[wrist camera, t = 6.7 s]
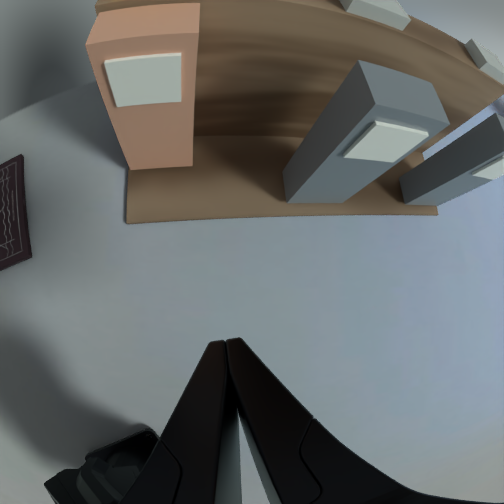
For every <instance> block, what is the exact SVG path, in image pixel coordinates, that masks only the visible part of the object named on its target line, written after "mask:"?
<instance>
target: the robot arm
mask: <svg viewBox="0 0 504 504" xmlns="http://www.w3.org/2000/svg"><path fill="white" fill-rule="evenodd" d="M237 409H238V410H237ZM238 413H239V417H240V421H241V424H242V427H243V430H244V433H245V436H246V439H247V442H248V445H249V448H250V451H251V454H252V456H253V459H254V462H255V465H256V468H257V470H258V473H259V476H260V479H261V481H262V484H263V487H264V489H265V492H266V495H267V497H268V500H269V502H270V504H504V503H488V502H476V501H466V500H458V499H451V498H444V497H438V496H433V495H428V494H423V493H420V492H417V491H414V490H412V489H409V488H407V487H405V486H403V485H402V484H400V483H398V482H397V481H395V480H393V479H392V478H390V477H389V476H387V475H386V474H384V473H383V472H381V471H380V470H378V469H377V468H375V467H374V466H372V465H371V464H369V463H368V462H366V461H365V460H364V459H362V458H361V457H359V456H358V455H357V454H355V453H354V452H353V451H351V450H350V449H349V448H347V447H346V446H345V445H344V444H342V443H341V442H340V441H339V440H338V439H336V438H335V437H334V436H333V435H332V434H331V433H330V432H329V431H328V430H327V429H326V428H325V427H324V426H323V425H322V424H321V423H320V422H319V421H318V420H317V419H315V418H314V419H313V415H312V414H311V413H310V412H309V411H308V410H307V409H306V408H305V407H304V406H303V405H302V404H301V403H300V402H299V401H298V400H297V399H296V398H295V397H294V396H293V395H292V393H291V392H290V391H289V390H288V389H287V388H286V387H285V386H284V385H283V384H282V383H281V382H280V381H279V379H278V378H277V377H276V376H275V375H274V374H273V373H272V372H271V371H270V370H269V369H268V367H267V366H266V365H265V364H264V363H263V362H262V361H261V360H260V359H259V357H258V356H257V355H256V354H255V353H254V352H253V351H252V349H251V348H250V347H249V346H248V345H247V344H246V343H245V341H244V340H243V339H242V338H240V337H238V338H232V339H227V340H226V343H225V341H224V340H218V341H211V342H210V343H209V344H208V346H207V348H206V349H205V351H204V353H203V355H202V357H201V359H200V361H199V363H198V365H197V367H196V369H195V371H194V373H193V375H192V377H191V378H190V380H189V382H188V384H187V386H186V388H185V390H184V392H183V394H182V396H181V398H180V400H179V402H178V404H177V405H176V407H175V409H174V411H173V413H172V415H171V417H170V419H169V421H168V423H167V425H166V427H165V429H164V430H163V432H162V434H161V436H160V438H159V436H158V435H157V434H156V432H155V431H154V430H152V429H145V430H143V431H140V432H138V433H136V434H134V435H131V436H129V437H127V438H124V439H122V440H120V441H117V442H115V443H113V444H110V445H108V446H105V447H103V448H100V449H98V450H95V451H93V452H90V453H88V454H87V455H86V457H85V460H86V462H85V464H84V465H83V466H81V467H80V468H79V469H65V470H63V471H61V472H59V473H57V474H56V475H55V476H54V477H52V478H51V479H49V480H48V481H46V482H45V483H44V486H45V488H46V489H47V491H48V493H49V494H50V496H51V498H52V499H53V501H54V502H55V504H242V493H241V470H240V444H239V419H238ZM146 434H151V435H152V438H149V437H147V436H146Z"/></svg>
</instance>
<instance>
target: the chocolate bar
mask: <svg viewBox="0 0 504 504" xmlns="http://www.w3.org/2000/svg"><path fill="white" fill-rule="evenodd" d="M29 258H32V252H31V245H30V238H29V231H28V222H27V213H26V201H25V186H24V156H23V155H22V154H20V155H18V156H16V157H14V158H12V159H10V160H9V161H7V162H5V163H3V164H1V165H0V271H1V270H4V269H6V268H8V267H11V266H13V265H15V264H18V263H20V262H22V261H25V260H27V259H29Z"/></svg>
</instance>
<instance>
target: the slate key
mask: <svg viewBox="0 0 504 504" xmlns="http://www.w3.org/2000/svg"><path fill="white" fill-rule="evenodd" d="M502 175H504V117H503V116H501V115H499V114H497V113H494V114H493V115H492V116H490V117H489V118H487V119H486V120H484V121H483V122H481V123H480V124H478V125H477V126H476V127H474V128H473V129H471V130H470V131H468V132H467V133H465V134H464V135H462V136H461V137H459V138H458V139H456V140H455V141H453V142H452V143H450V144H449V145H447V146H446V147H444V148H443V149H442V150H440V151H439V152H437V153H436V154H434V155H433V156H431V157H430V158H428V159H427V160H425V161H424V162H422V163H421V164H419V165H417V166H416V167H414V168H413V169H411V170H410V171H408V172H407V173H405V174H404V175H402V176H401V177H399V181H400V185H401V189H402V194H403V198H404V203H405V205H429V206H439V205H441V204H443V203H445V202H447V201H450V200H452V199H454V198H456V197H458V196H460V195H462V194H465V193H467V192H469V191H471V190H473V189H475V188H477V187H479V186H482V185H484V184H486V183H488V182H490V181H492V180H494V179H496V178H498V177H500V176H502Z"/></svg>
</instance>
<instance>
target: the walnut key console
mask: <svg viewBox="0 0 504 504" xmlns="http://www.w3.org/2000/svg"><path fill="white" fill-rule="evenodd" d="M174 3H200V18H199V39H198V51H197V65H196V81H195V101H194V126H193V166H185V167H167V168H152V169H139V170H130V168H129V170H128V188H127V224H139V223H153V222H169V221H186V220H205V219H226V218H250V217H279V216H321V215H438V211H437V206H429V205H405V203H404V198H403V194H402V189H401V185H400V181H399V177H401V176H402V175H404V174H405V173H407V172H408V171H410V170H411V169H413V168H414V167H416V166H417V165H419V164H421V163H422V162H424V157H423V154H422V153H423V152H424V151H425V150H427V149H428V148H430V147H431V146H432V145H434V144H435V143H437V142H438V141H439V140H441V139H442V138H444V137H445V136H447V135H448V134H449V133H451V132H452V131H454V130H455V129H456V128H458V127H459V126H461V125H462V124H463V123H465V122H466V121H468V120H469V119H470V118H472V117H473V116H474V115H476V114H477V113H479V112H480V111H481V110H483V109H484V108H486V107H487V106H488V105H490V104H491V103H492V102H494V101H495V100H497V99H498V98H499V97H501V96H502V95H503V94H504V67H503V65H502V64H501V62H500V61H499V59H498V57H497V56H496V55H494V54H493V53H492V52H490V51H489V50H488V49H486V48H485V47H483V46H482V45H480V44H479V43H478V42H476V41H475V40H473V39H471V40H470V41H469V42H468V43H466V44H463V43H461V42H459V41H458V40H457V39H455V38H453V37H451V36H449V35H447V34H446V33H444V32H442V31H440V30H438V29H436V28H434V27H433V26H431V25H428V24H427V23H424V22H423V21H420V20H418V19H416V18H414V17H412V16H410V15H407V14H406V12H405V11H404V10H403V8H402V7H401V5H400V4H399V3H398V2H397V0H98V1H97V3H96V5H95V9H96V13H97V16H98V14H99V13H100V12H105V11H111V10H117V9H123V8H130V7H138V6H148V5H159V4H174ZM358 60H361V61H365V62H369V63H372V64H376V65H380V66H383V67H386V68H390V69H393V70H396V71H399V72H402V73H405V74H408V75H411V76H414V77H417V78H420V79H422V80H425V81H428V82H430V83H432V85H433V87H434V89H435V91H436V93H437V95H438V97H439V99H440V102H441V104H442V106H443V108H444V111H445V113H446V115H447V118H448V120H449V123H450V125H448V126H447V127H446V128H444V129H443V130H442V131H440V132H439V133H438V134H436V135H435V136H434V137H432V138H431V139H430V140H428V141H427V142H425V143H424V144H423V145H421V146H420V147H419V148H417V149H416V150H415V151H413V152H412V153H411V154H409V155H408V156H406V157H405V158H404V159H402V160H401V161H400V162H398V163H397V164H395V165H394V166H393V167H391V168H390V169H389V170H387V171H386V172H385V173H383V174H382V175H380V176H379V177H378V178H376V179H375V180H373V181H372V182H371V183H369V184H368V185H367V186H365V187H364V188H362V189H361V190H360V191H358V192H357V193H356V194H354V195H353V196H351V197H350V198H349V199H347V200H346V201H344V202H343V203H286V196H285V188H284V181H283V174H282V171H283V170H284V168H285V167H286V165H287V164H288V162H289V161H290V159H291V158H292V156H293V155H294V153H295V152H296V150H297V149H298V147H299V146H300V144H301V143H302V141H303V140H304V138H305V137H306V135H307V134H308V132H309V131H310V129H311V128H312V126H313V125H314V123H315V122H316V120H317V119H318V117H319V116H320V114H321V113H322V111H323V110H324V109H325V107H326V106H327V104H328V103H329V101H330V100H331V98H332V97H333V95H334V94H335V92H336V91H337V89H338V88H339V87H340V85H341V84H342V82H343V81H344V79H345V78H346V76H347V75H348V73H349V72H350V71H351V69H352V68H353V66H354V65H355V63H356V62H357V61H358Z"/></svg>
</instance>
